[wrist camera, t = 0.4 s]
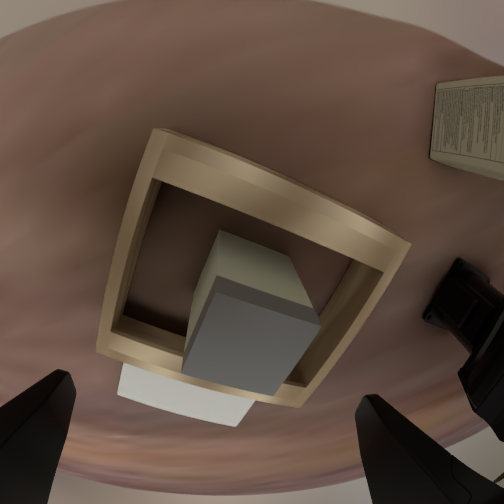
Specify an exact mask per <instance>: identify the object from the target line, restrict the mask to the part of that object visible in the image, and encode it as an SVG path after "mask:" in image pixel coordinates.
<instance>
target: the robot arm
mask: <svg viewBox="0 0 504 504" xmlns="http://www.w3.org/2000/svg"><path fill="white" fill-rule="evenodd" d="M489 283H490V278H488V277H487V276H485V275H484V274H483V273H481V272H480V271H479V270H477V269H476V268H474V267H473V266H472V265H470V264H469V263H467V262H466V261H464V260H463V259H462V258H458V259H457V260H456V262H455V264H454V265H453V267H452V269H451V271H450V272H449V274H448V276H447V278H446V279H445V281H444V283H443V285H442V286H441V288H440V290H439V291H438V293H437V294H436V296H435V298H434V299H433V301H432V302H431V304H430V306H429V307H428V309H427V310H426V312H425V313H424V315H423V319H424V320H425V321H426V322H428V323H431V324H434V325H436V326H439V327H442V328H445V329H447V330H449V331H450V332H451V333H452V334H453V335H454V336H455V337H456V338H457V340H458V341H459V342H460V343H461V344H462V345H463V346H464V347H465V348H466V350H467V351H468V352H469V353H470V354H471V355H470V356H469V358H468V359H467V361H466V362H465V364H464V365H463V367H462V368H460V370H459V371H458V373H457V374H458V376H459V378H460V381H461V383H462V385H463V388H464V390H465V393H466V395H467V398H468V400H469V403H470V405H471V407H472V410H473V411H474V412H475V413H476V414H477V415H478V416H480V417H481V418H482V419H484V420H485V421H486V422H487V423H488V424H489V425H490V427H491V428H492V429H493V431H494V432H495V434H496V435H497V437H498V439H499V440H500V441H502V442H504V295H503V294H502V293H501V292H499V291H498V290H497V289H496V288H494V287H493V286H492V285H490V284H489ZM75 398H76V388H75V385H74V383H73V380H72V377H71V374H70V373H69V372H68V371H64V370H61V369H57V370H55V371H53V372H52V373H50V374H49V375H47V376H46V377H44V378H43V379H41V380H40V381H38V382H37V383H35V384H34V385H33V386H31V387H30V388H28V389H27V390H25V391H24V392H22V393H21V394H19V395H18V396H16V397H15V398H13V399H12V400H10V401H9V402H7V403H6V404H4V405H3V406H1V407H0V504H47V502H48V498H49V494H50V490H51V487H52V483H53V480H54V476H55V473H56V469H57V466H58V462H59V459H60V456H61V453H62V449H63V446H64V443H65V440H66V437H67V433H68V429H69V424H70V420H71V415H72V411H73V407H74V402H75ZM355 421H356V427H357V434H358V441H359V448H360V454H361V459H362V463H363V467H364V471H365V475H366V479H367V483H368V486H369V491H370V495H371V499H372V503H373V504H504V488H502V487H500V486H499V485H497V484H495V483H493V482H492V481H490V480H488V479H487V478H485V477H483V476H481V475H480V474H478V473H477V472H475V471H474V470H472V469H471V468H469V467H468V466H466V465H465V464H464V463H462V462H461V461H459V460H458V459H457V458H456V457H454V456H453V455H451V454H450V453H449V452H448V451H447V450H445V449H444V448H443V447H442V446H440V445H439V444H438V443H437V442H435V441H434V440H433V439H432V438H430V437H429V436H428V435H427V434H425V433H424V432H423V431H422V430H420V429H419V428H418V427H417V426H415V425H414V424H413V423H412V422H410V421H409V420H408V419H407V418H406V417H404V416H403V415H402V414H401V413H399V412H398V411H397V410H396V409H395V408H393V407H392V406H391V405H390V404H389V403H387V402H386V401H385V400H384V399H383V398H381V397H380V396H379V395H377V394H369V395H365V396H364V397H363V398H362V400H361V402H360V404H359V406H358V408H357V409H356V412H355Z"/></svg>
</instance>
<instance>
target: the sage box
mask: <svg viewBox="0 0 504 504" xmlns="http://www.w3.org/2000/svg"><path fill="white" fill-rule="evenodd" d="M321 327H322V325H321V323H320V321H319V319H318V317H317V314H316V312H315V310H314V308H313V306H312V304H311V302H310V299H309V297H308V295H307V293H306V291H305V289H304V287H303V285H302V282H301V280H300V278H299V276H298V274H297V272H296V270H295V268H294V266H293V264H292V262H291V260H290V258H289V256H287V255H284V254H282V253H279V252H276V251H274V250H271V249H269V248H266V247H264V246H261V245H258V244H256V243H253V242H251V241H248V240H246V239H243V238H240V237H238V236H235V235H233V234H230V233H227V232H225V231H222V230H219V232H218V234H217V237H216V239H215V242H214V244H213V246H212V249H211V251H210V254H209V256H208V259H207V261H206V263H205V266H204V268H203V271H202V273H201V276H200V278H199V281H198V283H197V286H196V288H195V291H194V294H193V300H192V305H191V311H190V317H189V323H188V329H187V335H186V342H185V348H184V355H183V361H182V368H181V374H184V375H188V376H191V377H194V378H198V379H202V380H205V381H209V382H213V383H216V384H220V385H224V386H228V387H232V388H237V389H241V390H245V391H250V392H254V393H259V394H264V395H269V396H274V395H275V393H276V392H277V391H278V389H279V388H280V386H281V385H282V384H283V382H284V381H285V380H286V378H287V377H288V375H289V374H290V373H291V371H292V370H293V368H294V367H295V365H296V364H297V363H298V361H299V360H300V358H301V357H302V355H303V354H304V352H305V351H306V349H307V348H308V346H309V345H310V343H311V342H312V340H313V339H314V337H315V336H316V334H317V333H318V331H319V330H320V328H321Z"/></svg>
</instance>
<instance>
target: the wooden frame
mask: <svg viewBox="0 0 504 504" xmlns="http://www.w3.org/2000/svg"><path fill="white" fill-rule="evenodd" d="M162 181H163V182H166V183H168V184H171V185H174V186H176V187H179V188H182V189H184V190H187V191H190V192H192V193H195V194H197V195H200V196H203V197H205V198H208V199H210V200H213V201H215V202H218V203H221V204H223V205H226V206H228V207H231V208H233V209H236V210H238V211H241V212H243V213H246V214H248V215H251V216H253V217H256V218H258V219H261V220H263V221H265V222H268V223H270V224H273V225H275V226H278V227H280V228H282V229H285V230H287V231H290V232H292V233H294V234H297V235H299V236H302V237H304V238H306V239H309V240H311V241H313V242H316V243H318V244H320V245H323V246H325V247H327V248H330V249H332V250H334V251H337V252H339V253H341V254H344V255H346V256H348V257H350V258H353V260H352V262H351V264H350V266H349V267H348V269H347V271H346V273H345V274H344V276H343V278H342V280H341V281H340V283H339V285H338V286H337V288H336V290H335V292H334V293H333V295H332V297H331V298H330V300H329V302H328V303H327V305H326V306H325V308H324V310H323V311H322V313H321V315H320V316H319V318H318V319H319V321H320V323H321V325H322V327H321V328H320V330H319V331H318V333H317V334H316V336H315V337H314V339H313V340H312V342H311V343H310V345H309V346H308V348H307V349H306V351H305V352H304V354H303V355H302V357H301V358H300V360H299V361H298V363H297V364H296V365H295V367H294V368H293V370H292V371H291V373H290V374H289V375H288V377H287V378H286V380H285V381H284V382H283V384H282V385H281V386H280V388H279V389H278V391H277V392H276V393H275V395H274V396H269V395H264V394H259V393H254V392H250V391H245V390H241V389H237V388H232V387H228V386H224V385H220V384H216V383H213V382H209V381H205V380H202V379H198V378H194V377H191V376H188V375H184V374H181V368H182V361H183V355H184V348H185V342H186V337H183V336H180V335H177V334H174V333H172V332H169V331H166V330H163V329H160V328H157V327H154V326H152V325H149V324H146V323H143V322H141V321H138V320H135V319H133V318H130V317H127V316H125V315H123V312H124V308H125V303H126V299H127V295H128V291H129V287H130V284H131V280H132V276H133V272H134V269H135V265H136V261H137V258H138V255H139V251H140V248H141V244H142V241H143V238H144V234H145V231H146V228H147V225H148V222H149V219H150V216H151V213H152V210H153V207H154V204H155V201H156V198H157V195H158V192H159V189H160V186H161V184H162ZM410 246H411V243H409V242H408V241H406V240H405V239H404V238H402V237H401V236H399V235H398V234H396V233H395V232H393V231H392V230H390V229H389V228H387V227H386V226H385V225H383V224H381V223H379V222H378V221H376V220H374V219H372V218H370V217H368V216H366V215H365V214H363V213H361V212H359V211H357V210H355V209H353V208H351V207H349V206H347V205H345V204H343V203H341V202H339V201H337V200H335V199H333V198H331V197H329V196H327V195H325V194H323V193H321V192H319V191H317V190H315V189H313V188H311V187H309V186H306V185H304V184H302V183H300V182H298V181H296V180H294V179H291V178H289V177H287V176H285V175H283V174H280V173H278V172H276V171H274V170H271V169H269V168H267V167H265V166H262V165H260V164H258V163H255V162H253V161H251V160H248V159H246V158H243V157H241V156H239V155H236V154H234V153H231V152H229V151H226V150H224V149H221V148H219V147H216V146H214V145H211V144H209V143H206V142H203V141H201V140H198V139H196V138H193V137H190V136H187V135H185V134H182V133H179V132H176V131H174V130H171V129H164V128H153V131H152V133H151V136H150V138H149V141H148V144H147V146H146V149H145V152H144V155H143V157H142V160H141V163H140V166H139V169H138V172H137V175H136V178H135V181H134V184H133V187H132V190H131V193H130V196H129V200H128V203H127V206H126V210H125V213H124V216H123V220H122V224H121V227H120V231H119V235H118V238H117V242H116V246H115V250H114V254H113V259H112V263H111V267H110V272H109V276H108V281H107V286H106V290H105V296H104V301H103V306H102V312H101V317H100V323H99V330H98V336H97V343H96V352H98V353H101V354H103V355H106V356H108V357H111V358H113V359H116V360H118V361H121V362H124V363H126V364H129V365H132V366H135V367H137V368H140V369H143V370H146V371H149V372H152V373H155V374H158V375H161V376H164V377H168V378H171V379H174V380H177V381H181V382H184V383H188V384H191V385H195V386H198V387H202V388H206V389H210V390H213V391H217V392H221V393H226V394H230V395H234V396H238V397H243V398H248V399H252V400H257V401H262V402H268V403H273V404H278V405H284V406H290V407H297V408H300V407H301V406H302V405H303V404H304V402H305V401H306V400H307V399H308V398H309V396H310V395H311V394H312V393H313V392H314V390H315V389H316V388H317V387H318V385H319V384H320V383H321V381H322V380H323V379H324V378H325V376H326V375H327V374H328V373H329V371H330V370H331V369H332V367H333V366H334V365H335V363H336V362H337V361H338V359H339V358H340V357H341V355H342V354H343V352H344V351H345V350H346V348H347V347H348V345H349V344H350V343H351V341H352V340H353V338H354V337H355V336H356V334H357V333H358V331H359V330H360V328H361V327H362V325H363V324H364V322H365V321H366V319H367V318H368V316H369V315H370V313H371V312H372V310H373V309H374V307H375V306H376V304H377V302H378V301H379V299H380V298H381V296H382V295H383V293H384V291H385V290H386V288H387V286H388V285H389V283H390V281H391V280H392V278H393V276H394V275H395V273H396V271H397V270H398V268H399V266H400V264H401V263H402V261H403V259H404V257H405V255H406V254H407V252H408V250H409V248H410Z"/></svg>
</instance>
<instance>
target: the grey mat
mask: <svg viewBox="0 0 504 504" xmlns="http://www.w3.org/2000/svg"><path fill="white" fill-rule="evenodd" d="M117 395H120V396H123V397H126V398H129V399H132V400H135V401H138V402H141V403H144V404H147V405H150V406H153V407H156V408H160V409H163V410H167V411H170V412H174V413H177V414H181V415H185V416H189V417H193V418H197V419H201V420H205V421H210V422H214V423H219V424H224V425H229V426H234V427H236V426H237V425H238V423H239V422H240V421H241V419H242V418H243V417H244V415H245V414H246V413H247V411H248V410H249V409H250V407H251V406H252V404H253V403H254V402H255V400H252V399H248V398H243V397H238V396H234V395H230V394H226V393H221V392H217V391H213V390H210V389H206V388H202V387H198V386H195V385H191V384H188V383H184V382H181V381H177V380H174V379H171V378H168V377H164V376H161V375H158V374H155V373H152V372H149V371H146V370H143V369H140V368H137V367H135V366H132V365H129V364H126V363H123V368H122V373H121V377H120V382H119V387H118V392H117Z"/></svg>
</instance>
